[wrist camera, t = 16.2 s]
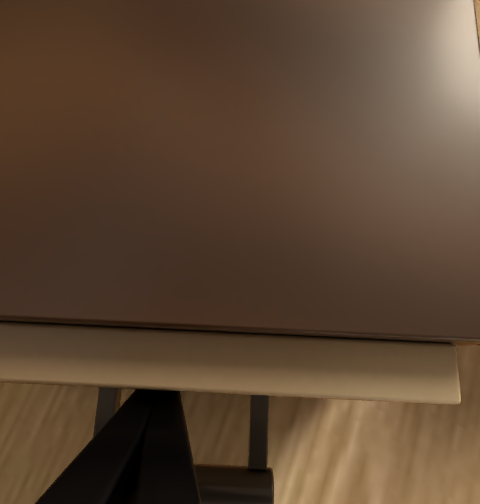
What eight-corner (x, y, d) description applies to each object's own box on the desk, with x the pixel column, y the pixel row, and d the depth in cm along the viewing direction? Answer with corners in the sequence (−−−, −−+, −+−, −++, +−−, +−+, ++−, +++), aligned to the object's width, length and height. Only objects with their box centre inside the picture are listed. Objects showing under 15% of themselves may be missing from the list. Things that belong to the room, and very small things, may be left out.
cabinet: (361, 350, 17) (517, 343, 7) (34, 334, 17) (-222, 307, 7) (353, 69, 20) (453, -179, 11) (81, 57, 20) (-53, -199, 11)
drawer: (356, 500, 14) (485, 659, 7) (12, 483, 15) (-230, 620, 7) (347, 97, 19) (422, -80, 11) (80, 86, 19) (-28, -97, 11)
